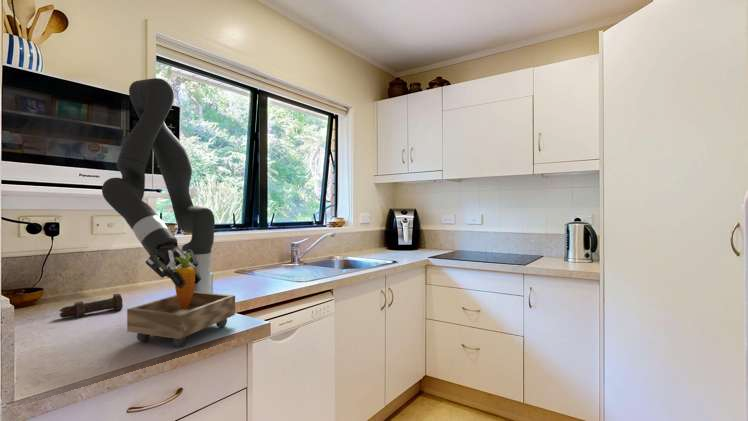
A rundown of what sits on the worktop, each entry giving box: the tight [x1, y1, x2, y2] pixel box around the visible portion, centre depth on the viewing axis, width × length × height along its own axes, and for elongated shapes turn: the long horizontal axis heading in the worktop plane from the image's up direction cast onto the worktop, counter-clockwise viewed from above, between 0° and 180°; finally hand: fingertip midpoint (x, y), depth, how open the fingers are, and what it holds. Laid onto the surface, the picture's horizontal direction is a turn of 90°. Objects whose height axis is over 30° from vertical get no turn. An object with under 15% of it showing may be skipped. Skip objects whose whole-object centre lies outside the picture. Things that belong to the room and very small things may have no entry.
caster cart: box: [126, 292, 236, 348], centre depth 98 cm, size 20×16×8 cm
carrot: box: [174, 253, 195, 310], centre depth 98 cm, size 5×5×15 cm
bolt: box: [59, 293, 124, 319], centre depth 114 cm, size 6×5×15 cm
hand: (190, 283), depth 97 cm, fingers closed on carrot, 4 cm apart
